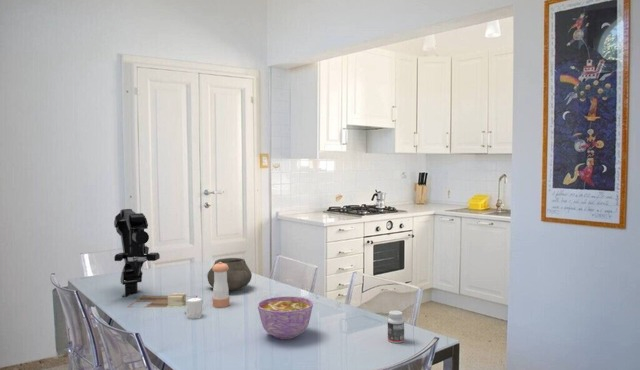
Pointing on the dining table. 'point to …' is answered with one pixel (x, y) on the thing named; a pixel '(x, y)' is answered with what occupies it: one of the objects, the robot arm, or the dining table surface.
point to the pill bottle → (395, 327)
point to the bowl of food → (285, 315)
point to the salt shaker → (220, 286)
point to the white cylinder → (194, 307)
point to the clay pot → (233, 273)
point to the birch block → (177, 299)
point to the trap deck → (156, 301)
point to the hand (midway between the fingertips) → (137, 275)
